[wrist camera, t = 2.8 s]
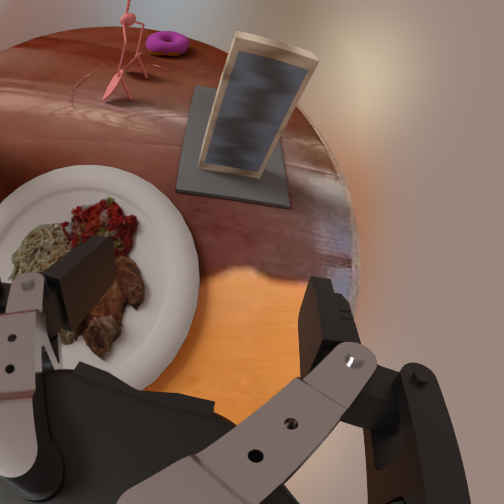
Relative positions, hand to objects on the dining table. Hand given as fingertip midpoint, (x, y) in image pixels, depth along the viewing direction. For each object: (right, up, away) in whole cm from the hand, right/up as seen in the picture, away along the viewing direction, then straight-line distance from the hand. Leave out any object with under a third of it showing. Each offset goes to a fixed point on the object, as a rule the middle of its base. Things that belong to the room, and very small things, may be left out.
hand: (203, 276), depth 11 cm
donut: (-19, +50, +45) cm, 71 cm away
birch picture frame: (-1, +13, +30) cm, 33 cm away
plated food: (-19, -2, +17) cm, 25 cm away
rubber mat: (-1, +20, +35) cm, 40 cm away
